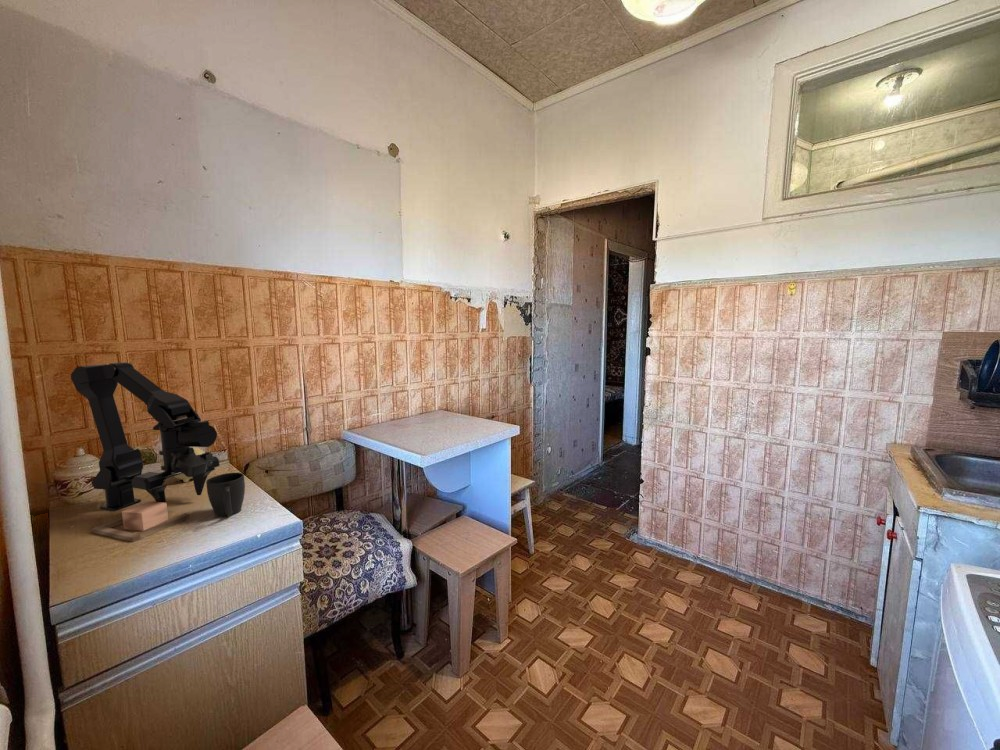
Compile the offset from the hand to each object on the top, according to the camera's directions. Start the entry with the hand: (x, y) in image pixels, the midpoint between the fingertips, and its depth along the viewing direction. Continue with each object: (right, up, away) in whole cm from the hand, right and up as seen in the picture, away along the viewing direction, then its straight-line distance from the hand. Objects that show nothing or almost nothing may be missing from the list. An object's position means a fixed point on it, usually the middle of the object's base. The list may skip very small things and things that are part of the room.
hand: (182, 501), depth 110 cm
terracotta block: (-2, -3, -8) cm, 9 cm away
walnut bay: (-3, -3, -8) cm, 9 cm away
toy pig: (-16, 0, +22) cm, 27 cm away
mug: (+15, -2, -4) cm, 16 cm away
